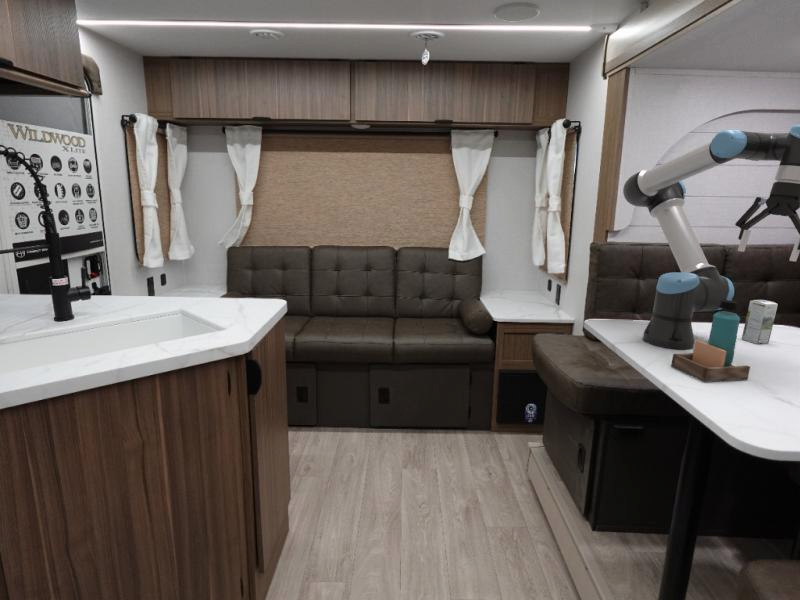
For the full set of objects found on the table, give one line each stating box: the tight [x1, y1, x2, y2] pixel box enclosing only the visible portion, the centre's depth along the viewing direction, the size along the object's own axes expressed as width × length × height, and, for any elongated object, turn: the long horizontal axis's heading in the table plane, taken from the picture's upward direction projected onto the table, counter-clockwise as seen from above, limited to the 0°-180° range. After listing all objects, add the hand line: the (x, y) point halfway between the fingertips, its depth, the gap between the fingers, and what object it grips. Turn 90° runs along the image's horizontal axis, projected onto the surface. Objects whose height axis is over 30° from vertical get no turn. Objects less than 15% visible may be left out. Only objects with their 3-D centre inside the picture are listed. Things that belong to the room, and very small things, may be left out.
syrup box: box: [741, 299, 778, 345], centre depth 168 cm, size 6×6×14 cm
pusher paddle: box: [692, 339, 727, 367], centre depth 136 cm, size 1×9×7 cm, turn 13°
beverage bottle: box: [707, 300, 741, 367], centre depth 135 cm, size 6×7×20 cm
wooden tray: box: [670, 352, 751, 383], centre depth 137 cm, size 14×12×4 cm
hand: (765, 256), depth 144 cm, fingers open, 13 cm apart
